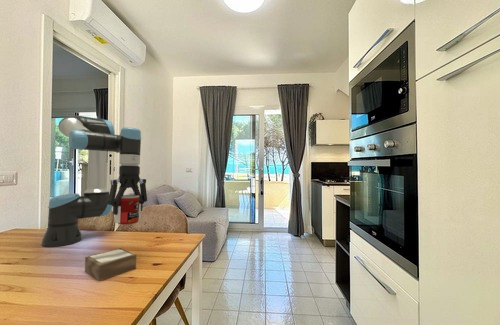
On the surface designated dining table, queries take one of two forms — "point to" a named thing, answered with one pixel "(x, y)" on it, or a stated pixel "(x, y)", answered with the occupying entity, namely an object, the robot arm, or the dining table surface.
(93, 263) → the base block
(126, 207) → the canned food
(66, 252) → the dining table surface
